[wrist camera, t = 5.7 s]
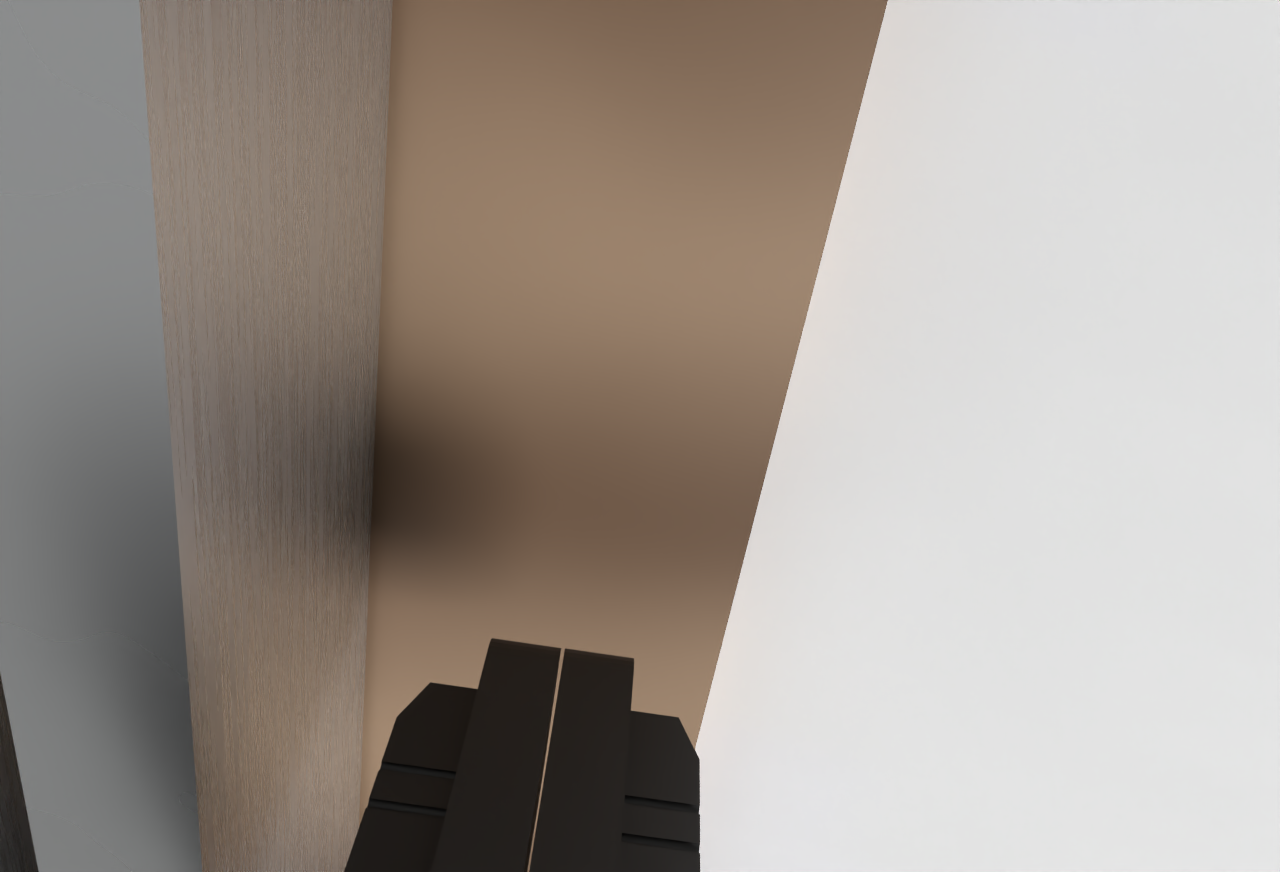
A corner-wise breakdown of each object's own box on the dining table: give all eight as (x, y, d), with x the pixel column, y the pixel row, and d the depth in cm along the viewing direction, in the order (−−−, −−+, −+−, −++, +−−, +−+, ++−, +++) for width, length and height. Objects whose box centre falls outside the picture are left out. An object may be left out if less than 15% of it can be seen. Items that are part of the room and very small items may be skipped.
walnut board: (-1122, -2012, 6) (-1444, -2336, 5) (1220, -1424, 6) (1305, -1617, 5) (-122, 950, 19) (-161, 1006, 18) (608, 1039, 19) (605, 1096, 19)
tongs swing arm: (209, -766, 7) (-531, -1683, 3) (451, -712, 7) (101, -1520, 3) (263, 1000, 17) (124, 1400, 13) (362, 1013, 17) (257, 1414, 13)
